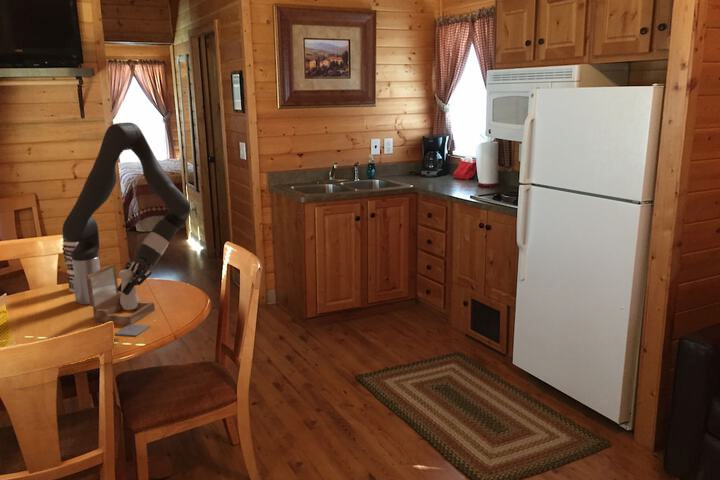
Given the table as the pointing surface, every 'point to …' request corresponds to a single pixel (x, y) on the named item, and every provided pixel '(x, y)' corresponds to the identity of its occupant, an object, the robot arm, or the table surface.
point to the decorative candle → (69, 260)
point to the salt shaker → (132, 298)
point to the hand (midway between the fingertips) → (122, 292)
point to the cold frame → (111, 298)
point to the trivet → (132, 330)
